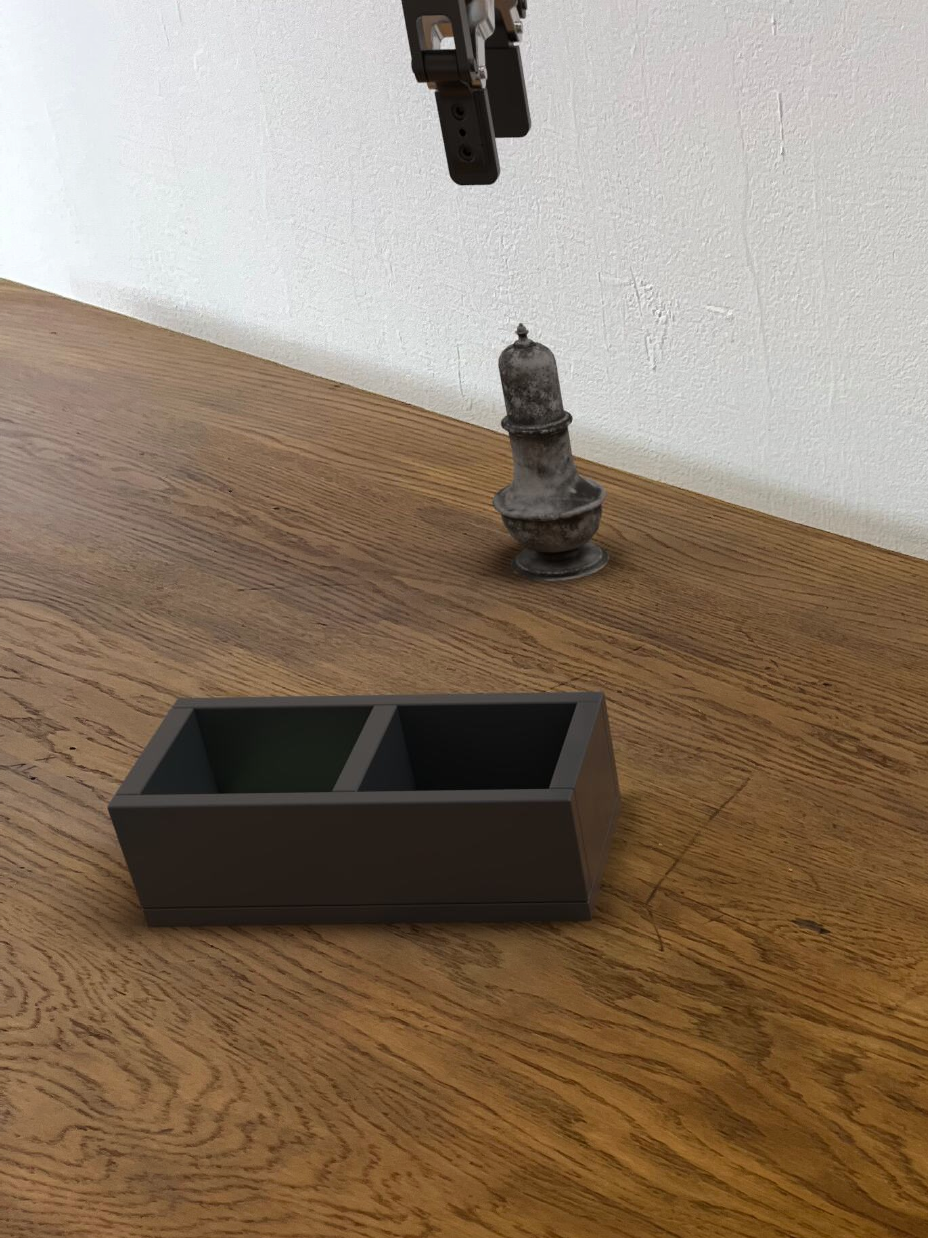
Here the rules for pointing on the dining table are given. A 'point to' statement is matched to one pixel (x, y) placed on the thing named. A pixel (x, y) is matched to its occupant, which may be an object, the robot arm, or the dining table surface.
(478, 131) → the robot arm
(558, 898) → the divided open box
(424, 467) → the dining table surface
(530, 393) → the salt shaker
